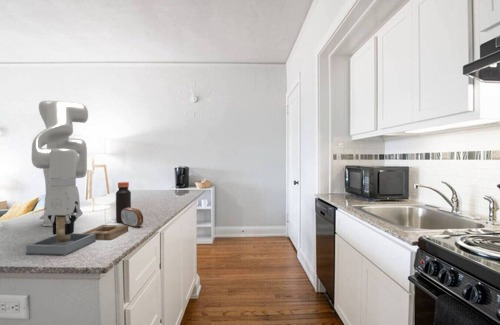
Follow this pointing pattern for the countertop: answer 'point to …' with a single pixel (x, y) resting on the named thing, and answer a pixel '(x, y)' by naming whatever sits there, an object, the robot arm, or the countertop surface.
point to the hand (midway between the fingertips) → (63, 233)
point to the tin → (132, 217)
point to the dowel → (61, 230)
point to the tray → (60, 245)
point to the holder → (108, 231)
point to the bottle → (122, 199)
